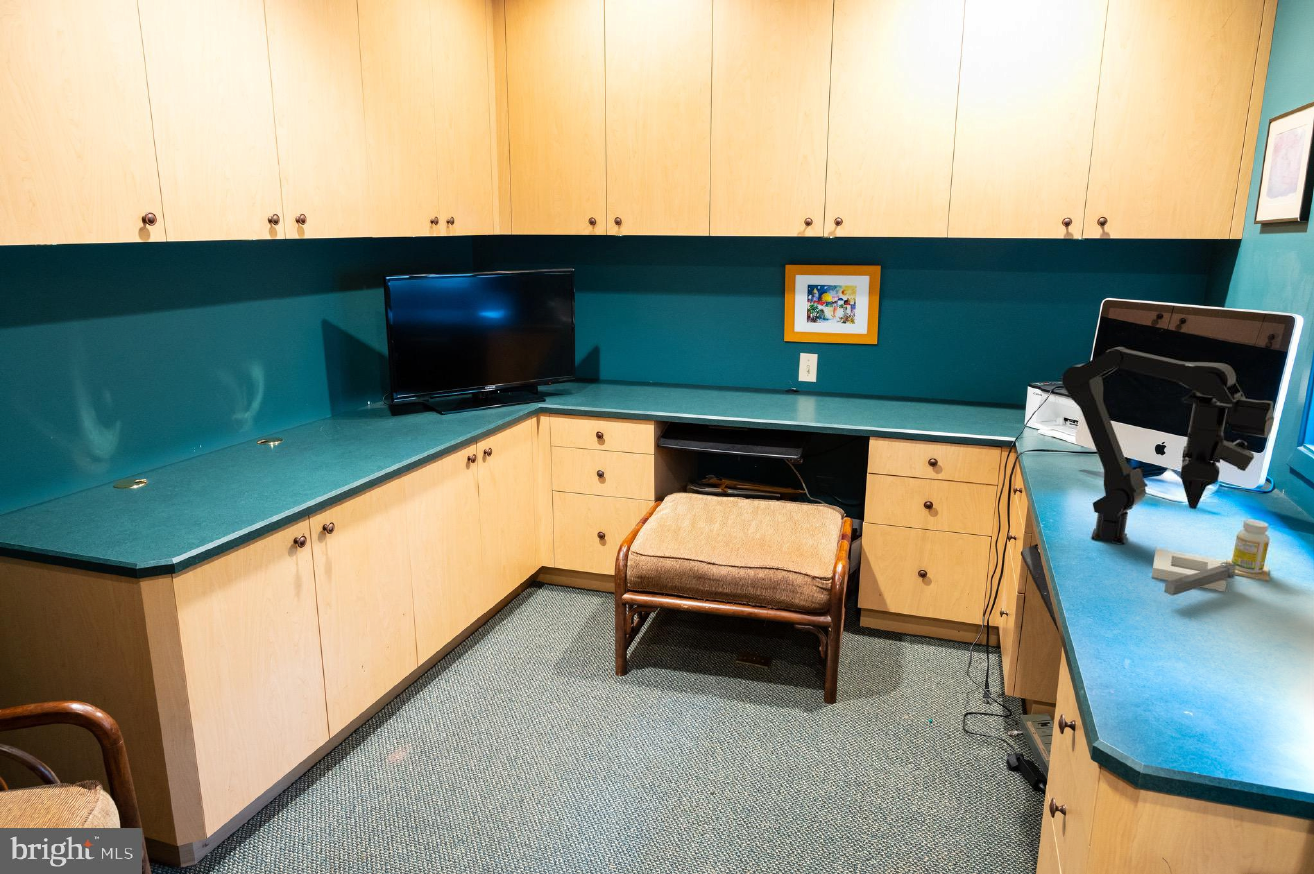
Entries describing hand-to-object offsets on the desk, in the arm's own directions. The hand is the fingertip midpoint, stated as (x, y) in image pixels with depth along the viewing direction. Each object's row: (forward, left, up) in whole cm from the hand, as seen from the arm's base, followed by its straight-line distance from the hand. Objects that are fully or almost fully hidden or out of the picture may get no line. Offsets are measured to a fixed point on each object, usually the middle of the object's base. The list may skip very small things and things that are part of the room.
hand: (1192, 502), depth 175 cm
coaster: (+1, +11, -12) cm, 16 cm away
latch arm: (+20, +3, -10) cm, 22 cm away
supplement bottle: (+1, +11, -12) cm, 16 cm away
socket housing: (+9, +1, -12) cm, 15 cm away
